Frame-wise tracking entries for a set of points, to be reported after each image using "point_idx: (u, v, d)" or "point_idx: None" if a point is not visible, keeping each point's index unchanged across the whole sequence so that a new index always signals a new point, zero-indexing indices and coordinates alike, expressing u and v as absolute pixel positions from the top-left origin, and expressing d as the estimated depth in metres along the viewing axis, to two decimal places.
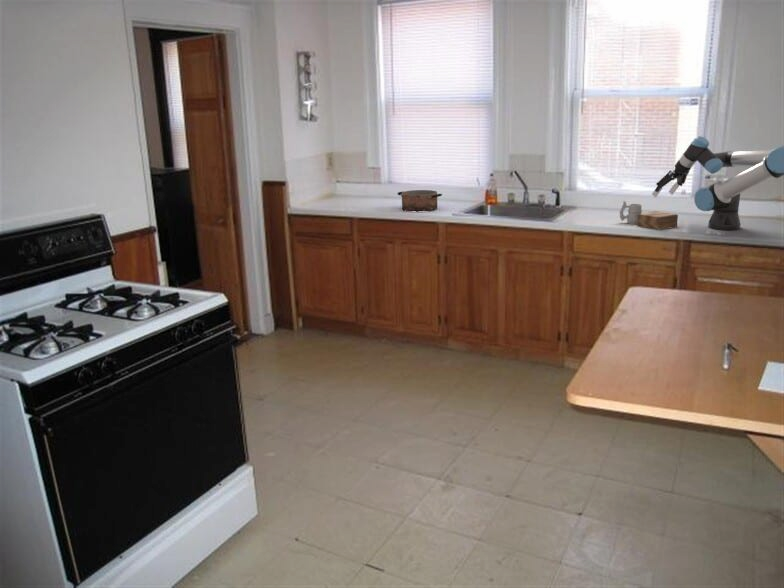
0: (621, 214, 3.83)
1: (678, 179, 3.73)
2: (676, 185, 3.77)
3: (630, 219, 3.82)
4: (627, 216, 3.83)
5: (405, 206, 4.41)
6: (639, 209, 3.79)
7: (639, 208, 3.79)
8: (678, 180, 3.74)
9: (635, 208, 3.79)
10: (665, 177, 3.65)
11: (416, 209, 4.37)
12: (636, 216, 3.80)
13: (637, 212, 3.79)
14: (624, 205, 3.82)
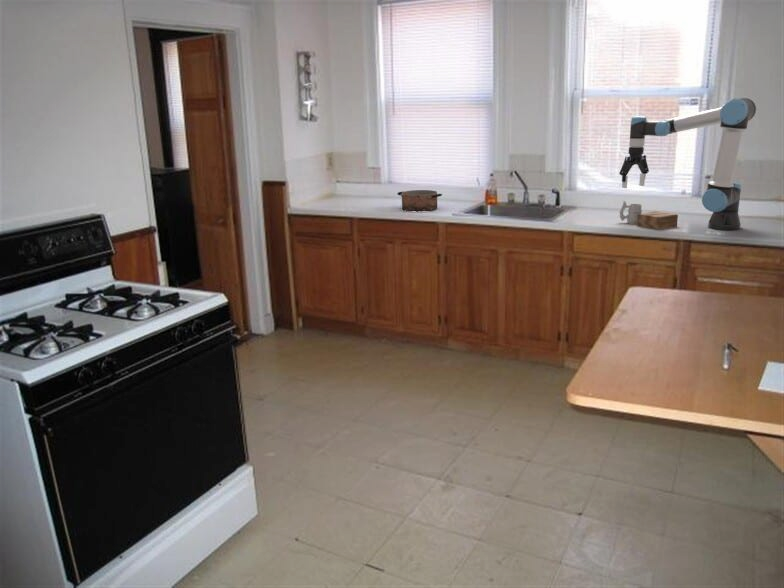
0: (621, 214, 3.83)
1: (640, 167, 3.79)
2: (642, 175, 3.80)
3: (630, 219, 3.82)
4: (627, 216, 3.83)
5: (405, 206, 4.41)
6: (639, 209, 3.79)
7: (639, 208, 3.79)
8: (641, 168, 3.79)
9: (635, 208, 3.79)
10: (624, 164, 3.72)
11: (416, 209, 4.37)
12: (636, 216, 3.80)
13: (637, 212, 3.79)
14: (624, 205, 3.82)
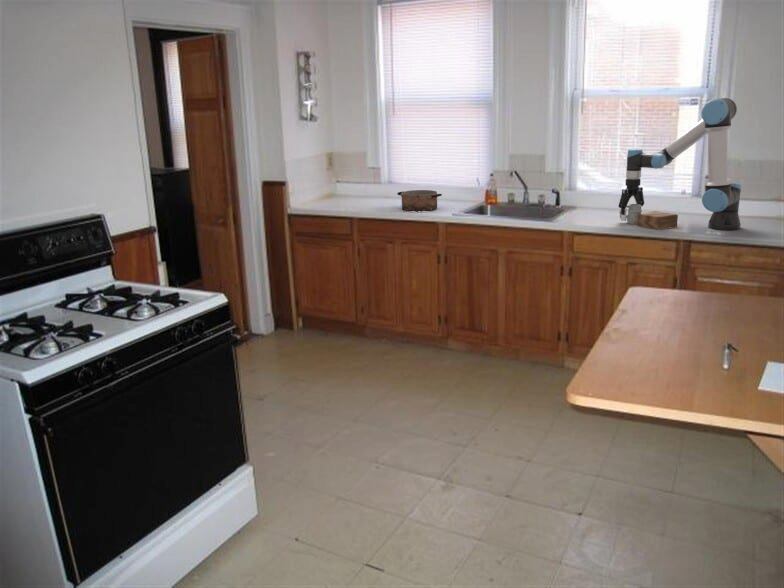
0: None
1: (636, 199, 3.83)
2: None
3: (630, 219, 3.81)
4: (627, 216, 3.83)
5: (405, 206, 4.40)
6: (639, 209, 3.79)
7: (639, 208, 3.79)
8: (637, 200, 3.83)
9: (635, 208, 3.79)
10: (622, 197, 3.77)
11: (416, 209, 4.36)
12: (636, 216, 3.80)
13: (637, 212, 3.79)
14: None
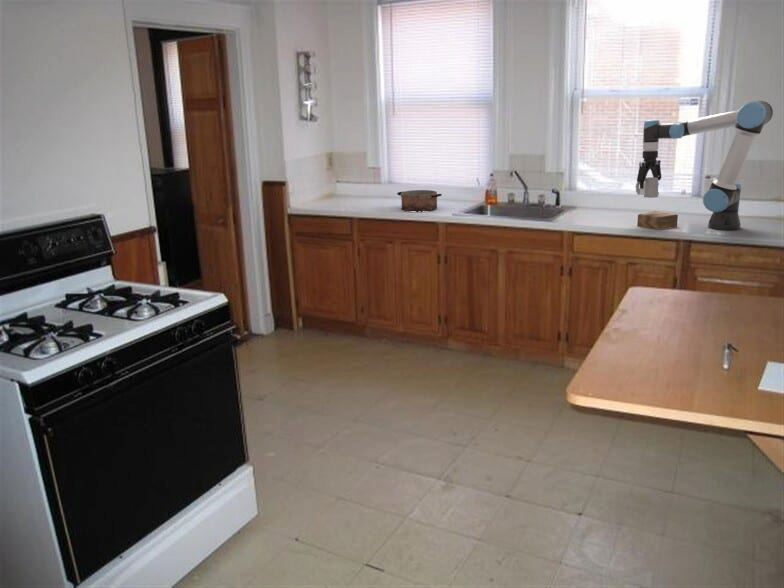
0: (637, 188, 3.73)
1: (653, 173, 3.72)
2: None
3: (646, 193, 3.71)
4: None
5: (405, 206, 4.40)
6: (655, 182, 3.68)
7: (655, 181, 3.68)
8: (654, 174, 3.73)
9: (651, 182, 3.68)
10: (640, 170, 3.67)
11: (415, 209, 4.36)
12: (652, 189, 3.69)
13: (653, 185, 3.68)
14: None
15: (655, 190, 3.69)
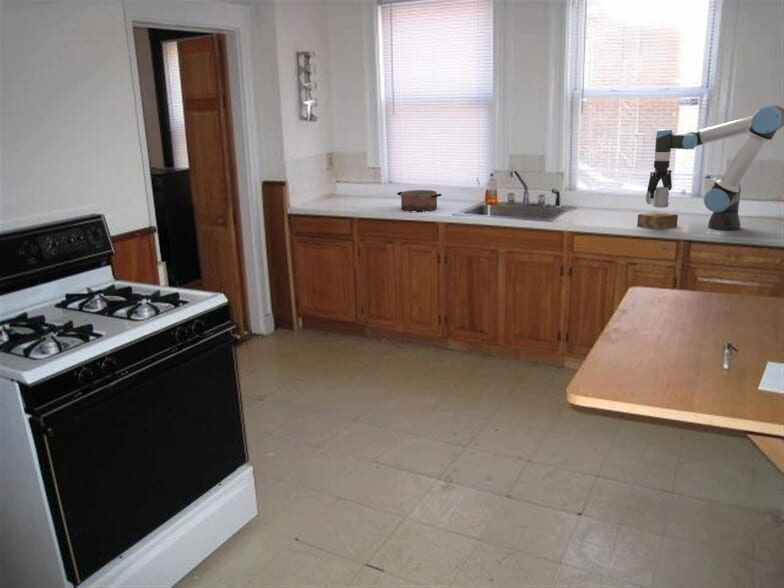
0: (647, 197, 3.69)
1: (664, 182, 3.69)
2: None
3: (656, 203, 3.68)
4: None
5: (404, 206, 4.40)
6: (666, 192, 3.65)
7: (666, 191, 3.65)
8: (664, 184, 3.70)
9: (661, 192, 3.65)
10: (651, 180, 3.63)
11: (415, 209, 4.36)
12: (663, 199, 3.66)
13: (664, 195, 3.65)
14: None
15: (665, 200, 3.66)
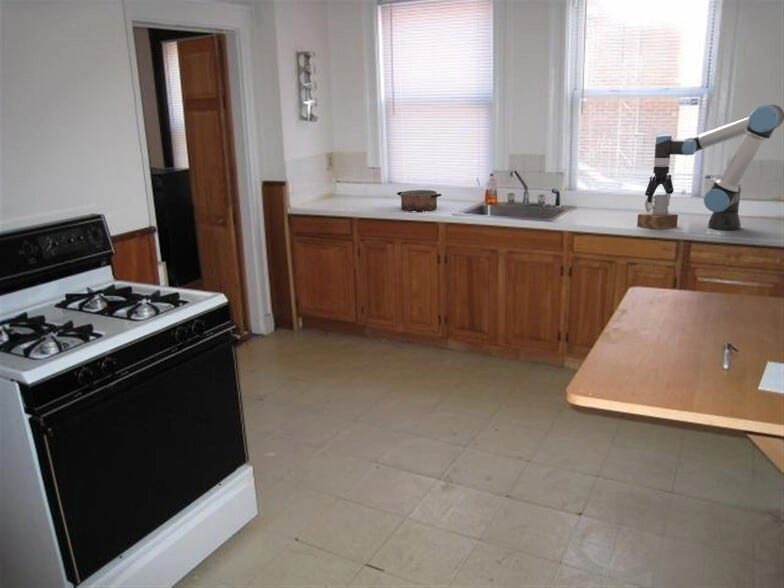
0: (646, 205, 3.71)
1: (665, 187, 3.70)
2: None
3: (656, 210, 3.69)
4: (653, 207, 3.71)
5: (404, 206, 4.40)
6: (665, 200, 3.67)
7: (665, 199, 3.66)
8: (666, 188, 3.71)
9: (661, 199, 3.66)
10: (649, 184, 3.64)
11: (415, 209, 4.36)
12: (662, 207, 3.67)
13: (663, 203, 3.67)
14: None
15: (665, 208, 3.67)
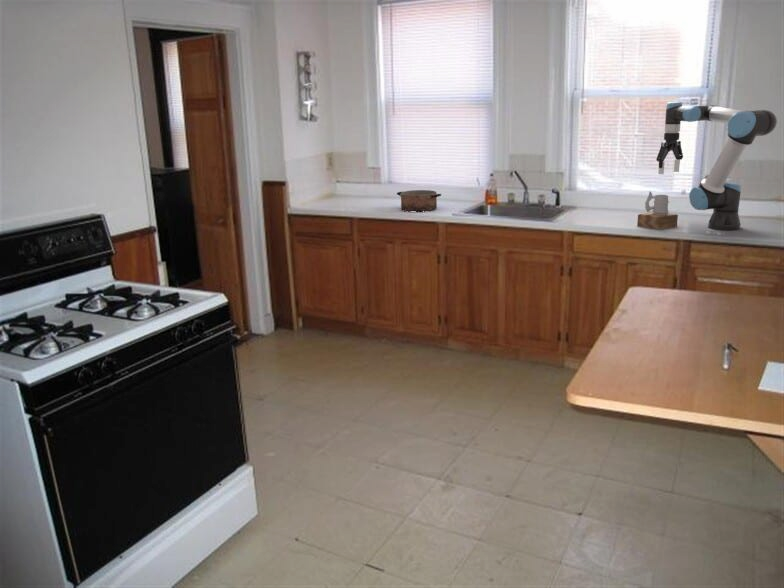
0: (646, 205, 3.71)
1: (675, 153, 3.78)
2: (677, 161, 3.80)
3: (656, 210, 3.69)
4: (653, 207, 3.70)
5: (404, 206, 4.40)
6: (665, 200, 3.66)
7: (665, 199, 3.66)
8: (676, 154, 3.79)
9: (661, 199, 3.66)
10: (661, 150, 3.71)
11: (415, 209, 4.36)
12: (662, 207, 3.67)
13: (663, 203, 3.66)
14: (650, 196, 3.69)
15: (665, 208, 3.67)
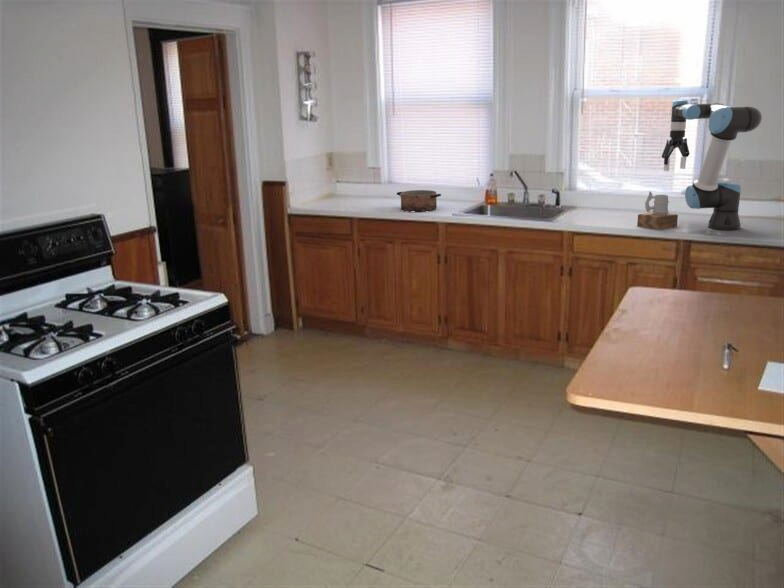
0: (646, 205, 3.71)
1: (681, 150, 3.86)
2: (683, 158, 3.88)
3: (656, 210, 3.69)
4: (653, 207, 3.70)
5: (404, 206, 4.40)
6: (665, 200, 3.66)
7: (665, 199, 3.66)
8: (682, 151, 3.86)
9: (661, 199, 3.66)
10: (666, 147, 3.79)
11: (415, 209, 4.36)
12: (662, 207, 3.67)
13: (663, 203, 3.66)
14: (650, 196, 3.69)
15: (665, 208, 3.67)
